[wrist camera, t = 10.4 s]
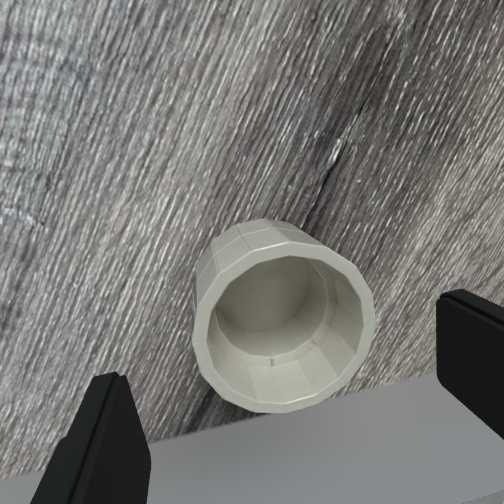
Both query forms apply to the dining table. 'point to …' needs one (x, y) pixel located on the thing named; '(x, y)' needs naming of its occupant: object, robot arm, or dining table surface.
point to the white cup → (278, 317)
